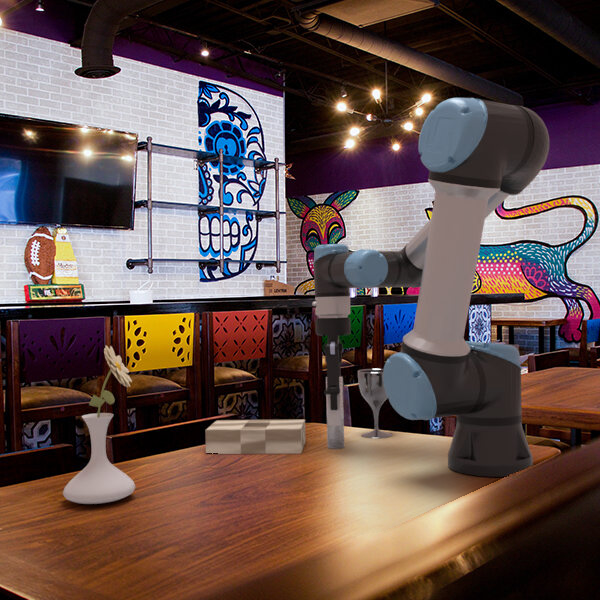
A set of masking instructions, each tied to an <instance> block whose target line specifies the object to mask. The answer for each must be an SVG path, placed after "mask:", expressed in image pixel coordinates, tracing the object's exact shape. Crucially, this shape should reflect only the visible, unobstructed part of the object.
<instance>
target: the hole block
mask: <svg viewBox="0 0 600 600" xmlns="http://www.w3.org/2000/svg"><path fill="white" fill-rule="evenodd" d="M204 431H205V433H204V434H205V454H206V453H212V454H211V455H214V454H213V453H218V454H217V455H239V454H240V455H246V454H247V455H248V454H250V455H251V454H252V455H256V454H257V455H261V454H262V455H263V454H264V455H267V454H270V455H271V454H272V455H273V454H274V455H275V454H279V455H280V454H281V455H282V454H283V455H284V454H285V455H286V454H302V452H303V449H304V448H305V444H306V419H304V418H303V419H300V418H299V419H297V418H296V419H294V418H293V419H220V420H219V419H218V420H215V421H214V422H213V423H211V424H210V426H208V427H207V428H206V429H205V430H204Z"/></svg>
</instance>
